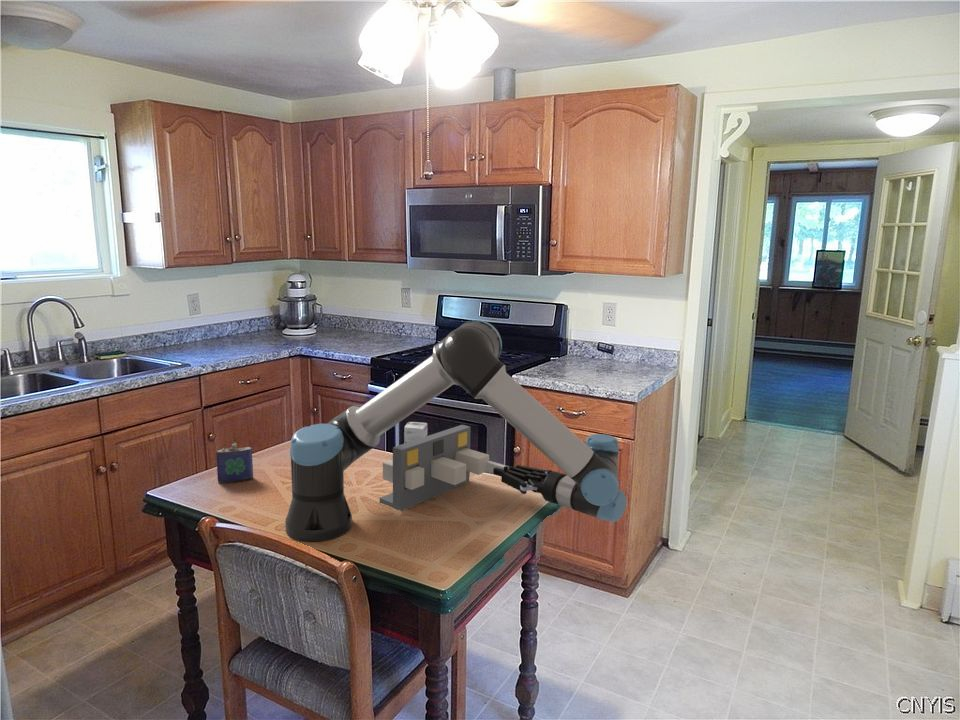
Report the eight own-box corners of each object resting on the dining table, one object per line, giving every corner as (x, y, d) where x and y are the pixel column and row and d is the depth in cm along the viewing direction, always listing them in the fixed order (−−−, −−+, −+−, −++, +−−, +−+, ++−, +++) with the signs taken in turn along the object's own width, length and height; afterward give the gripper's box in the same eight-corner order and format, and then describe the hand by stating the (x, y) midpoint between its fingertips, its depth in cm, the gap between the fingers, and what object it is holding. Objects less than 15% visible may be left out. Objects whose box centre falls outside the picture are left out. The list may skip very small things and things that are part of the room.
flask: (253, 476, 178) (251, 440, 176) (253, 480, 176) (252, 443, 174) (217, 480, 175) (215, 443, 173) (217, 484, 172) (215, 447, 170)
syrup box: (427, 469, 187) (427, 421, 184) (423, 476, 181) (423, 427, 178) (408, 467, 188) (408, 420, 185) (403, 475, 182) (403, 426, 179)
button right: (478, 474, 168) (478, 459, 167) (449, 465, 174) (449, 449, 174) (488, 470, 171) (489, 454, 170) (459, 461, 178) (459, 446, 177)
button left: (411, 489, 157) (411, 473, 156) (382, 479, 164) (382, 462, 163) (424, 484, 160) (424, 468, 160) (395, 474, 167) (395, 458, 166)
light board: (402, 511, 158) (402, 450, 155) (379, 502, 163) (379, 442, 160) (470, 481, 178) (471, 427, 175) (448, 474, 183) (449, 421, 180)
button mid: (454, 485, 161) (455, 468, 160) (424, 474, 167) (425, 458, 166) (466, 480, 164) (466, 464, 163) (436, 470, 171) (436, 454, 170)
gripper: (547, 512, 150) (471, 486, 165) (576, 496, 160) (501, 472, 175) (548, 482, 149) (471, 458, 163) (577, 468, 159) (502, 446, 173)
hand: (487, 466), depth 169 cm, fingers closed
